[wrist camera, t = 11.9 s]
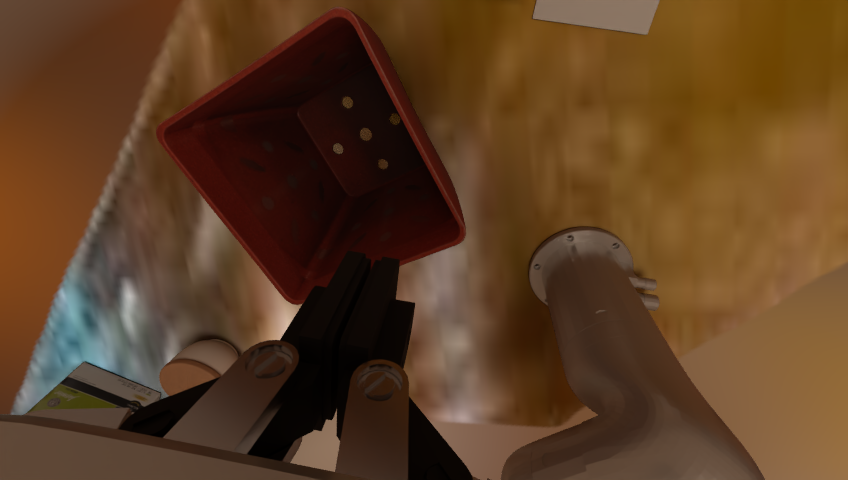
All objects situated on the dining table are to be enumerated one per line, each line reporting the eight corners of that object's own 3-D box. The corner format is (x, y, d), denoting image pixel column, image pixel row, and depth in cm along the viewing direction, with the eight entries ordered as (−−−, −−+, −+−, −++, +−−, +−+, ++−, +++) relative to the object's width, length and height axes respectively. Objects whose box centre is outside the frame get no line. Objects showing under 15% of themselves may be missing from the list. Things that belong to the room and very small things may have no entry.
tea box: (83, 390, 78) (4, 463, 65) (85, 359, 73) (0, 431, 60) (156, 420, 80) (94, 497, 67) (163, 392, 75) (98, 469, 62)
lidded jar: (251, 337, 65) (218, 382, 57) (251, 380, 70) (221, 428, 62) (188, 321, 65) (146, 364, 57) (193, 366, 70) (155, 411, 62)
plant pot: (342, 230, 53) (290, 310, 38) (253, 96, 46) (147, 131, 31) (473, 172, 47) (471, 240, 32) (395, 7, 40) (346, -3, 25)
